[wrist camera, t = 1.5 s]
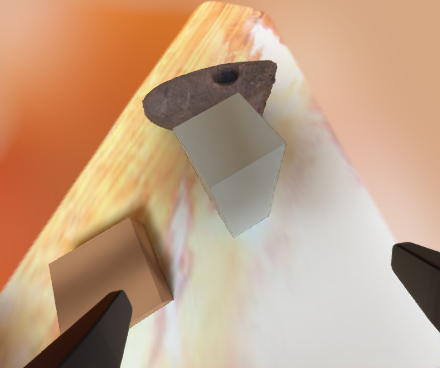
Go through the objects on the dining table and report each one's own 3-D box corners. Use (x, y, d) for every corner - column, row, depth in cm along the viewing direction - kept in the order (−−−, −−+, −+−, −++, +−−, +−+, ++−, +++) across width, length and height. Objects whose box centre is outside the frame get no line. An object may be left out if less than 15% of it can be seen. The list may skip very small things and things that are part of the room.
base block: (175, 299, 19) (162, 302, 16) (93, 351, 18) (65, 364, 15) (144, 224, 22) (129, 216, 20) (74, 266, 21) (48, 264, 19)
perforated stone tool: (152, 144, 26) (120, 102, 20) (158, 112, 28) (131, 64, 22) (275, 136, 24) (283, 85, 18) (272, 101, 26) (277, 45, 20)
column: (268, 216, 20) (286, 142, 9) (233, 238, 20) (210, 188, 9) (245, 184, 22) (238, 92, 11) (212, 204, 22) (172, 128, 11)
